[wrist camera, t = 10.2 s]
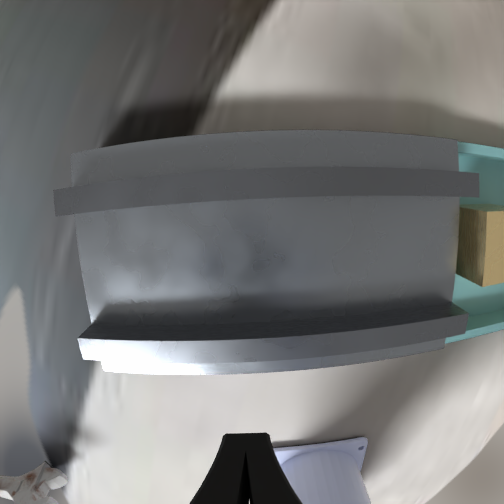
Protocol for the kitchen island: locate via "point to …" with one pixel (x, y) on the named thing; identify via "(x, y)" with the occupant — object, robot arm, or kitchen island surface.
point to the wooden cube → (481, 244)
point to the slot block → (267, 249)
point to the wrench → (33, 485)
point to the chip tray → (490, 192)
